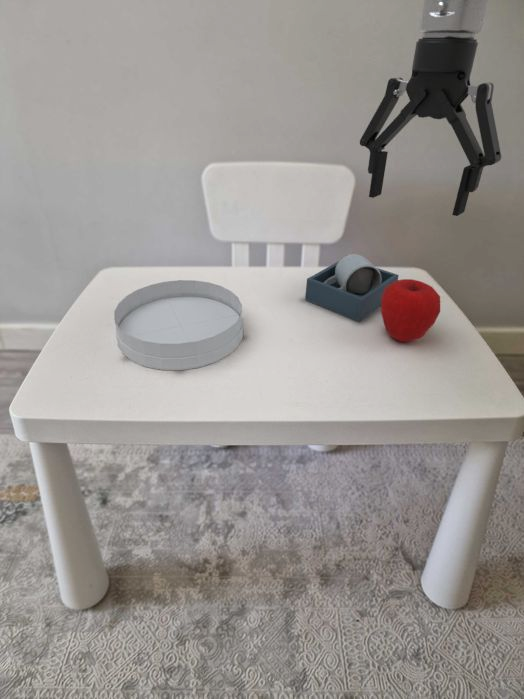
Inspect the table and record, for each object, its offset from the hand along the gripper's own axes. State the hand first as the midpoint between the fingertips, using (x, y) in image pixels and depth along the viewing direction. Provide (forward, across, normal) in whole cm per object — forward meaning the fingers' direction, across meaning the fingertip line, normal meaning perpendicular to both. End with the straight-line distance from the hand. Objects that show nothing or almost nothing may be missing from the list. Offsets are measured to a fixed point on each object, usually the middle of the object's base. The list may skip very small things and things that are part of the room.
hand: (414, 204), depth 70 cm
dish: (+23, -28, -26) cm, 44 cm away
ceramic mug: (+22, -13, +6) cm, 26 cm away
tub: (+23, -12, +6) cm, 26 cm away
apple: (+23, +2, 0) cm, 23 cm away
